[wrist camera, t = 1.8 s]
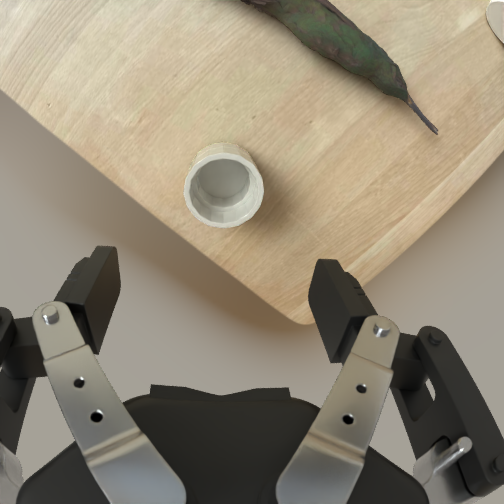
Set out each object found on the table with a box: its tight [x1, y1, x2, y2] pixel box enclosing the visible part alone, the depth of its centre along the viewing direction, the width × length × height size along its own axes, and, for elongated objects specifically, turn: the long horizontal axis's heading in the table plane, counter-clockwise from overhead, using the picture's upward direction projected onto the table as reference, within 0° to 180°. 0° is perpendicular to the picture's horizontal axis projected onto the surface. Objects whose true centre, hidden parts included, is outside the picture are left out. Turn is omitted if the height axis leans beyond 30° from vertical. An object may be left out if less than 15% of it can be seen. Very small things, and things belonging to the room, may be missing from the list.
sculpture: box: [241, 0, 438, 135], centre depth 20 cm, size 5×29×5 cm, turn 58°
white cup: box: [184, 142, 264, 228], centre depth 26 cm, size 6×6×5 cm
